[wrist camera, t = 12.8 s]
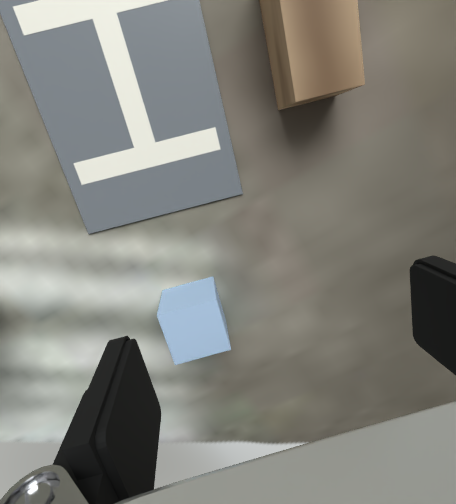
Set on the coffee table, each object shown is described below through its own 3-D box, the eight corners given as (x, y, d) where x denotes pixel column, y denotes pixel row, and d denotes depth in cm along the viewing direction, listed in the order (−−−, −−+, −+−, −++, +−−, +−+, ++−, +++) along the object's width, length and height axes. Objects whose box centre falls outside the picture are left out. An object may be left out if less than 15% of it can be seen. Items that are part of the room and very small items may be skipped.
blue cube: (212, 276, 31) (216, 299, 26) (225, 320, 32) (231, 349, 27) (162, 289, 30) (156, 315, 26) (177, 333, 32) (175, 365, 27)
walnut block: (319, -32, 24) (350, -78, 19) (334, 96, 27) (364, 84, 22) (255, -17, 24) (270, -58, 19) (277, 110, 27) (295, 102, 22)
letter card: (174, -108, 22) (174, -110, 21) (242, 193, 28) (242, 193, 28) (-28, -60, 21) (-30, -62, 21) (89, 233, 28) (88, 233, 28)
